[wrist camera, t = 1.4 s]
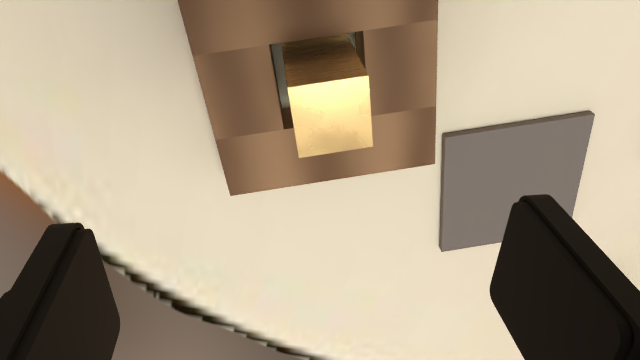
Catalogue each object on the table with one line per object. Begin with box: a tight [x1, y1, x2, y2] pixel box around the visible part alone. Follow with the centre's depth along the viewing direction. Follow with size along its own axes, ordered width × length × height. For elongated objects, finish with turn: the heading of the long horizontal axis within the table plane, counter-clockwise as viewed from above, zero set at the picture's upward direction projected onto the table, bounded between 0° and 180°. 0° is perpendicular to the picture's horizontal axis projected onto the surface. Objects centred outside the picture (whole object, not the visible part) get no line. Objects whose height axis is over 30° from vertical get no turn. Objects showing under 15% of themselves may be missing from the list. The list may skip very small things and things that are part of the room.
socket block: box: [178, 0, 438, 196], centre depth 30 cm, size 14×14×3 cm
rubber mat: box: [439, 111, 595, 252], centre depth 38 cm, size 11×11×1 cm
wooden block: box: [282, 33, 373, 158], centre depth 28 cm, size 4×4×8 cm
